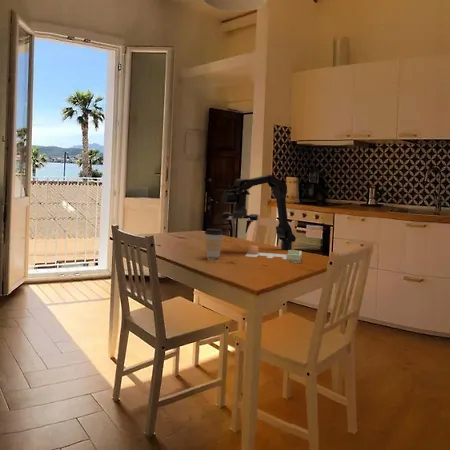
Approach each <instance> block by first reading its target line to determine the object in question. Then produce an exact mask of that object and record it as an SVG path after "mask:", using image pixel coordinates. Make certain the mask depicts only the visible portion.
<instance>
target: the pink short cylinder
mask: <svg viewBox="0 0 450 450" xmlns="http://www.w3.org/2000/svg"><path fill="white" fill-rule="evenodd" d="M248 252H249V254H258V253H259V245H257V244H251V245H248Z"/></svg>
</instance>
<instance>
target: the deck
mask: <svg viewBox="0 0 450 450" xmlns="http://www.w3.org/2000/svg"><path fill="white" fill-rule="evenodd" d="M302 253H303V251H302V250H295V249H292V250H287V253H286V254H284V253H283V254H282V253H271V252H258V254H249V251H248V252H247V253H246V254H245V257H250V258H251V257H252V258H257V257H258V256H262V257H266V259H273V258H275V257H277V258H282V260H289V263H295V264H301V261H302Z"/></svg>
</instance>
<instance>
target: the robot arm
mask: <svg viewBox="0 0 450 450" xmlns="http://www.w3.org/2000/svg"><path fill="white" fill-rule="evenodd" d="M263 184H267V185H268V186H269V187H270V188H271V190H272V194H273V196H274V197H275V201H276V207H277V208H276V209H277V215H278V216H277V217H278V224H277V226H275V230H276V231H275V232H276V235H277V236H278V239H279V240H280V241H281V250H283V251H288V250H293V249H292V248H293V243H295V242H296V241H297V237H296V236H295V234H294V233H293V231H292V225H290V223H289V218H288V212H287V202H286V197H287V193H288V185H287V183H286V182H283V181H282V180H281V179H279V178H277V177H276V176H275V175H273V174H266V175H265V174H264V175H261V176H257V177H252V178H237V179H236V180H235V181H234V183H233V185H232V186H231V188H230V190H229V189H224V190H223V193H222V194H221V196H220V197H221V201H222V203H223V204H234V209H233V212H227V211H225V212H223V213H222V214H221V219H225V220H226V221H227V222H228V223H229V226H230V227H229V228H230V231H231V232H232V233H234V219H240V220H241V219H246V226H245V234H247V233H248V230H249V228H250V225H251V224H252V223H253V222H254V221H258V220H259V215H258V214H256V213H250V214H248V209H247V195H249V196H250V195H251V193H250V192H249V191H248V190H249V189H251V188H253V187H255V186H260V185H263Z"/></svg>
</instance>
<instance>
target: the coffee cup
mask: <svg viewBox="0 0 450 450" xmlns="http://www.w3.org/2000/svg"><path fill="white" fill-rule="evenodd" d="M224 233H225V232H224V231H223V229H221V228H206V229H205V231H204V234H205V244H206V246H205V247H206V256H207V257H206V258H207V260H209V261H219V259H220V258H219V257H220V254H221V250H222V249H221V248H222V242H223V240H222V239H223V235H224Z"/></svg>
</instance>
